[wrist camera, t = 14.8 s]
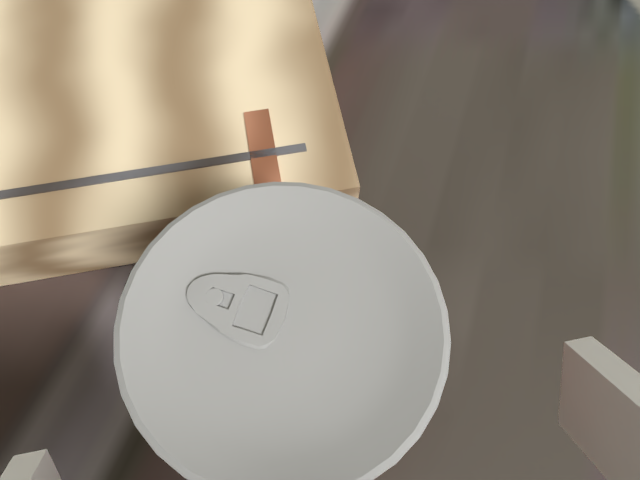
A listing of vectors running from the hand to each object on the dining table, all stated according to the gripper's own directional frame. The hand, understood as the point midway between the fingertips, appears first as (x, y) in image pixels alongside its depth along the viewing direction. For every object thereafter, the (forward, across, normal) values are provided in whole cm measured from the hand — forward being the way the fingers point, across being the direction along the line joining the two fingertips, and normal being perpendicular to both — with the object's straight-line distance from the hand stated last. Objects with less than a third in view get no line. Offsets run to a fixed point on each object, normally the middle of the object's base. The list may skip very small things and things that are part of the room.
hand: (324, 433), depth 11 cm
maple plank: (+20, -10, +8) cm, 24 cm away
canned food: (+8, 0, -4) cm, 9 cm away
